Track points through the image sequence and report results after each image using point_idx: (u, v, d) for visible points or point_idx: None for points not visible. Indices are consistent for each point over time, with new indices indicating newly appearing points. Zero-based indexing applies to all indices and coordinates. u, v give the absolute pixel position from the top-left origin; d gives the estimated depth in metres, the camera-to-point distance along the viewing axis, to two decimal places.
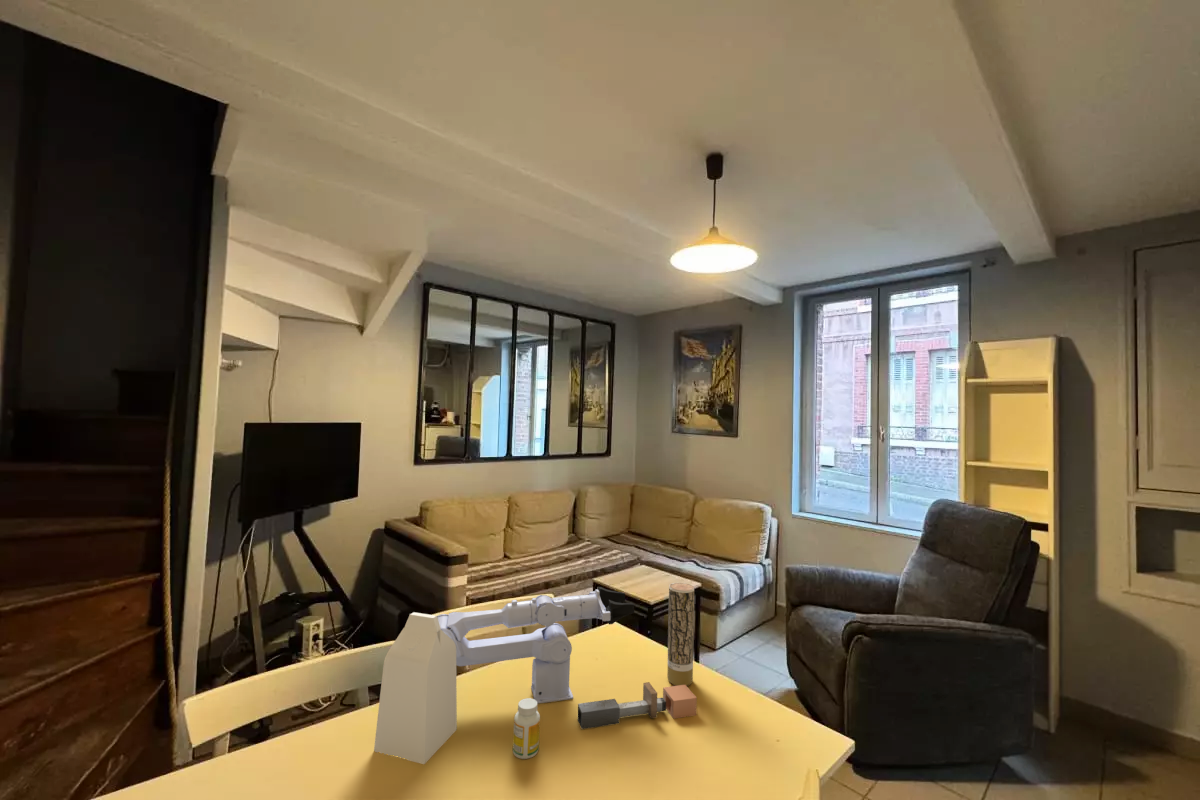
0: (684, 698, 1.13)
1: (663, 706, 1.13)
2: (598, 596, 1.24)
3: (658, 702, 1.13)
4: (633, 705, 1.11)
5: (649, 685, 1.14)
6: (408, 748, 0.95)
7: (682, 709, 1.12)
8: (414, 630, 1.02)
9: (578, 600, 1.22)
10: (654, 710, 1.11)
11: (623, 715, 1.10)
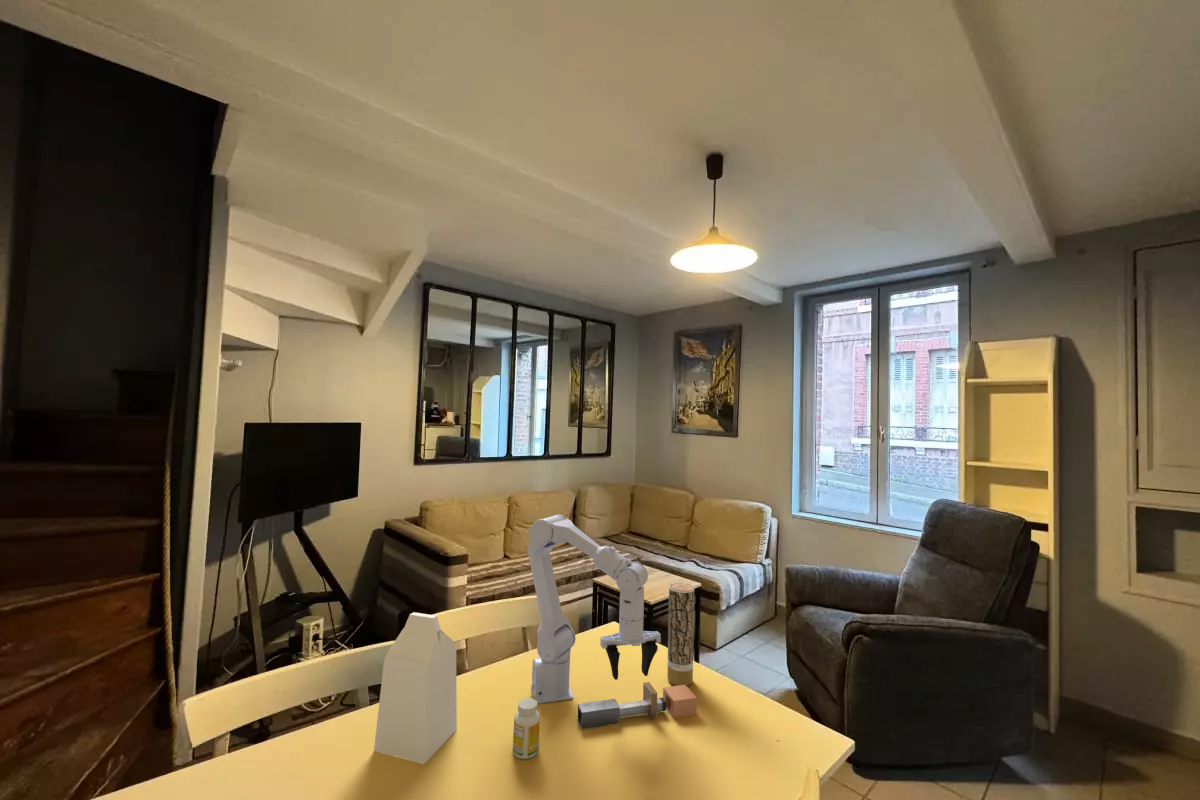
0: (684, 698, 1.13)
1: (663, 706, 1.13)
2: (630, 642, 1.10)
3: (658, 702, 1.13)
4: (633, 705, 1.11)
5: (649, 685, 1.14)
6: (408, 748, 0.95)
7: (682, 709, 1.12)
8: (414, 630, 1.02)
9: (638, 618, 1.11)
10: (654, 710, 1.11)
11: (623, 715, 1.10)
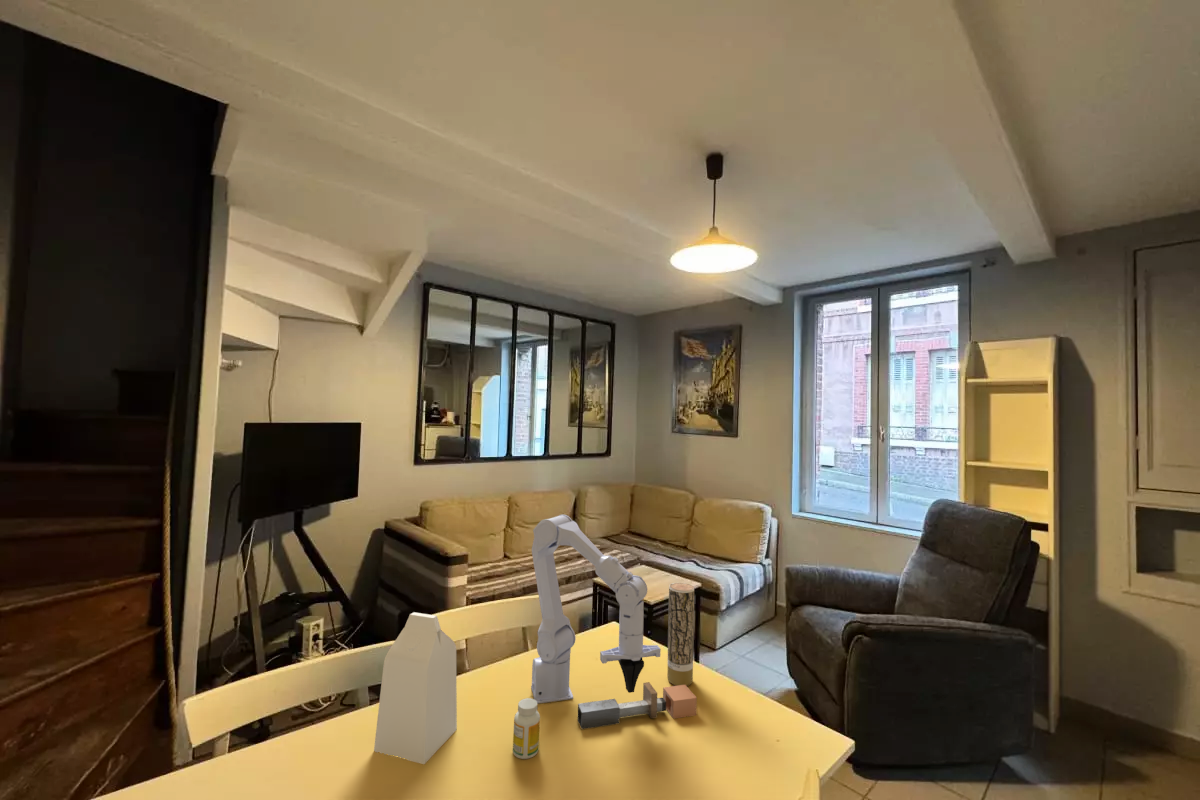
0: (684, 698, 1.13)
1: (663, 706, 1.13)
2: (629, 657, 1.09)
3: (658, 702, 1.13)
4: (633, 705, 1.11)
5: (649, 685, 1.14)
6: (408, 748, 0.95)
7: (682, 709, 1.12)
8: (414, 630, 1.02)
9: (637, 632, 1.10)
10: (654, 710, 1.11)
11: (623, 715, 1.10)
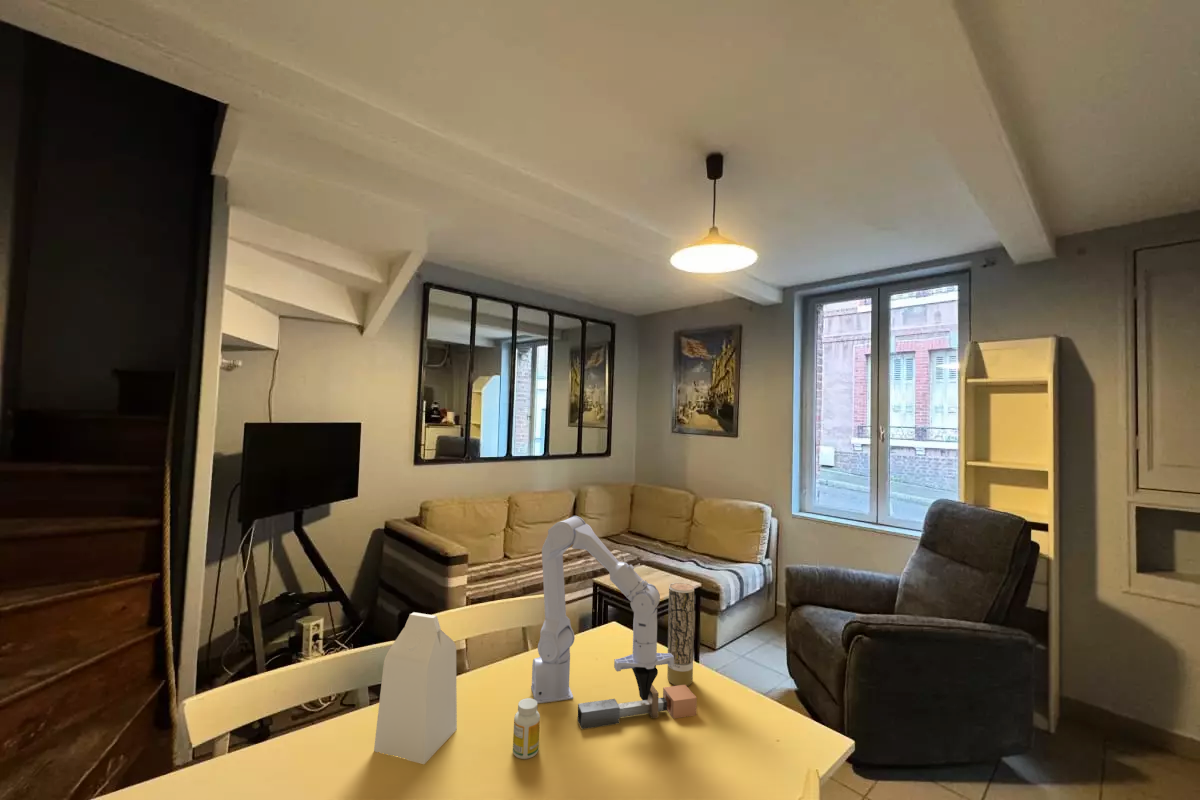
0: (684, 698, 1.13)
1: (665, 705, 1.13)
2: (643, 665, 1.10)
3: (659, 702, 1.13)
4: (634, 705, 1.12)
5: None
6: (408, 748, 0.95)
7: (682, 709, 1.12)
8: (414, 630, 1.02)
9: (652, 640, 1.11)
10: (655, 710, 1.11)
11: (624, 715, 1.10)
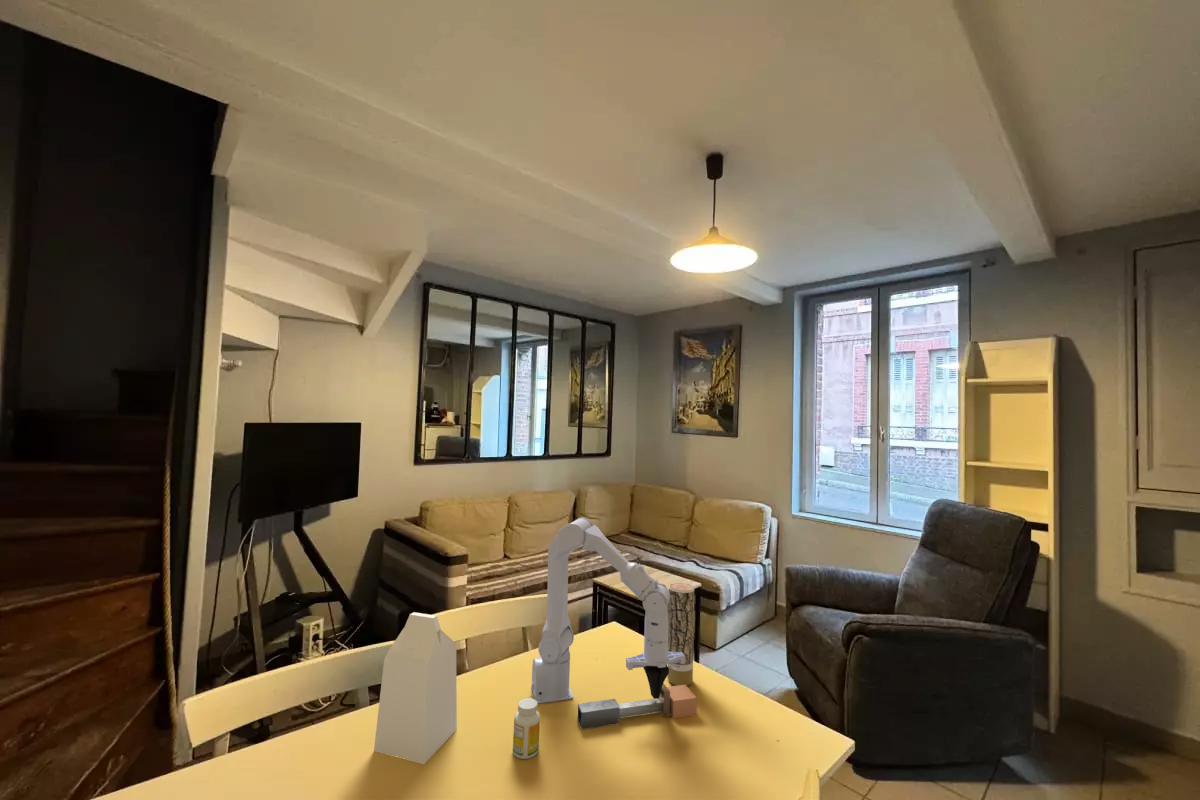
0: (684, 698, 1.13)
1: None
2: (655, 664, 1.11)
3: None
4: (646, 703, 1.12)
5: None
6: (408, 748, 0.95)
7: (682, 709, 1.12)
8: (414, 630, 1.02)
9: (664, 639, 1.12)
10: (667, 708, 1.12)
11: (636, 713, 1.11)
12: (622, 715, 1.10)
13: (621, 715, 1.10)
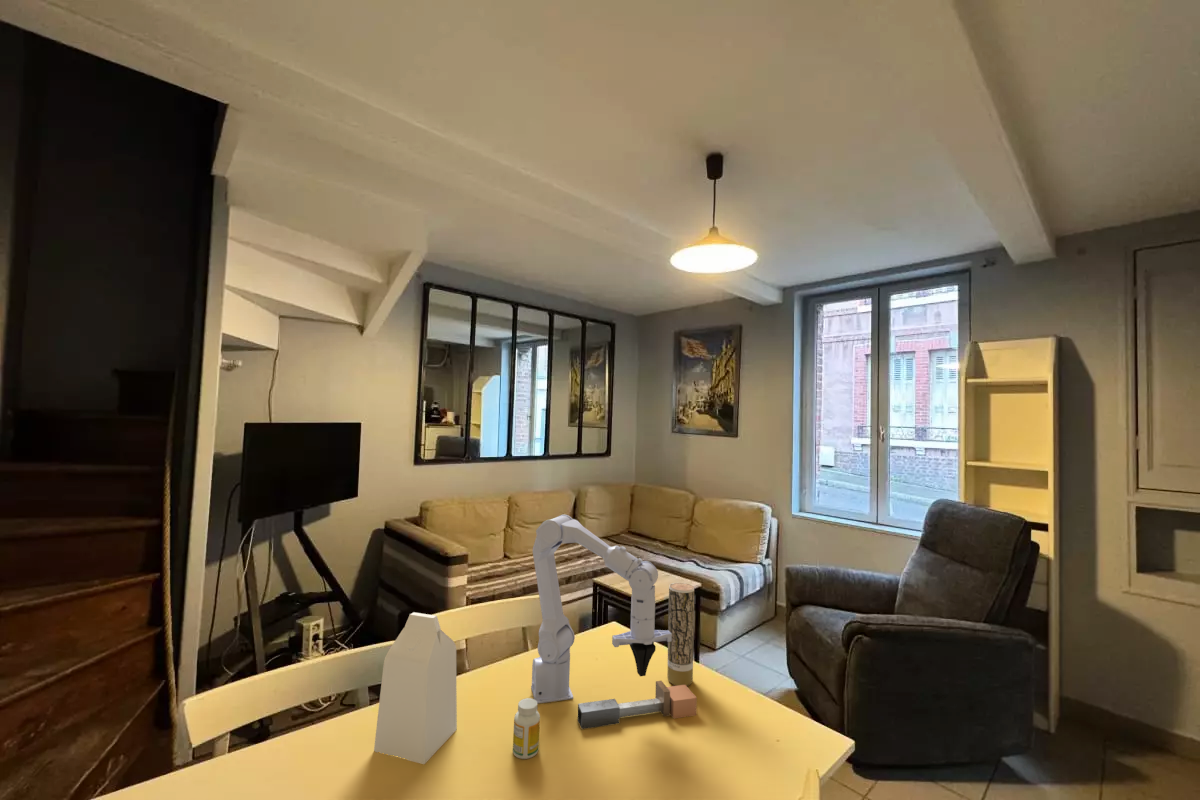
0: (684, 698, 1.13)
1: None
2: (641, 641, 1.11)
3: None
4: (646, 703, 1.12)
5: (661, 683, 1.15)
6: (408, 748, 0.95)
7: (682, 709, 1.12)
8: (414, 630, 1.02)
9: (650, 616, 1.12)
10: (667, 708, 1.12)
11: (636, 713, 1.11)
12: (622, 715, 1.10)
13: (621, 715, 1.10)
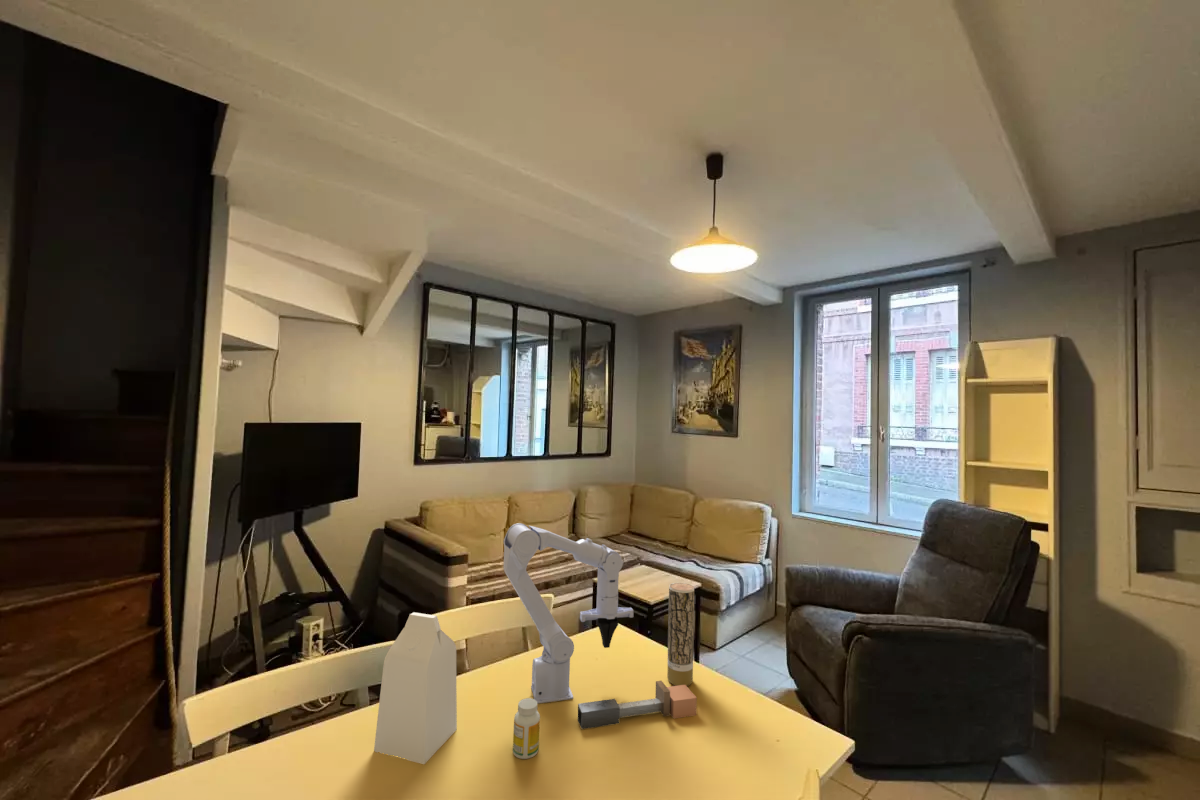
0: (684, 698, 1.13)
1: None
2: (605, 616, 1.25)
3: None
4: (646, 703, 1.12)
5: (661, 683, 1.15)
6: (408, 748, 0.95)
7: (682, 709, 1.12)
8: (414, 630, 1.02)
9: (617, 592, 1.28)
10: (667, 708, 1.12)
11: (636, 713, 1.11)
12: (622, 715, 1.10)
13: (621, 715, 1.10)
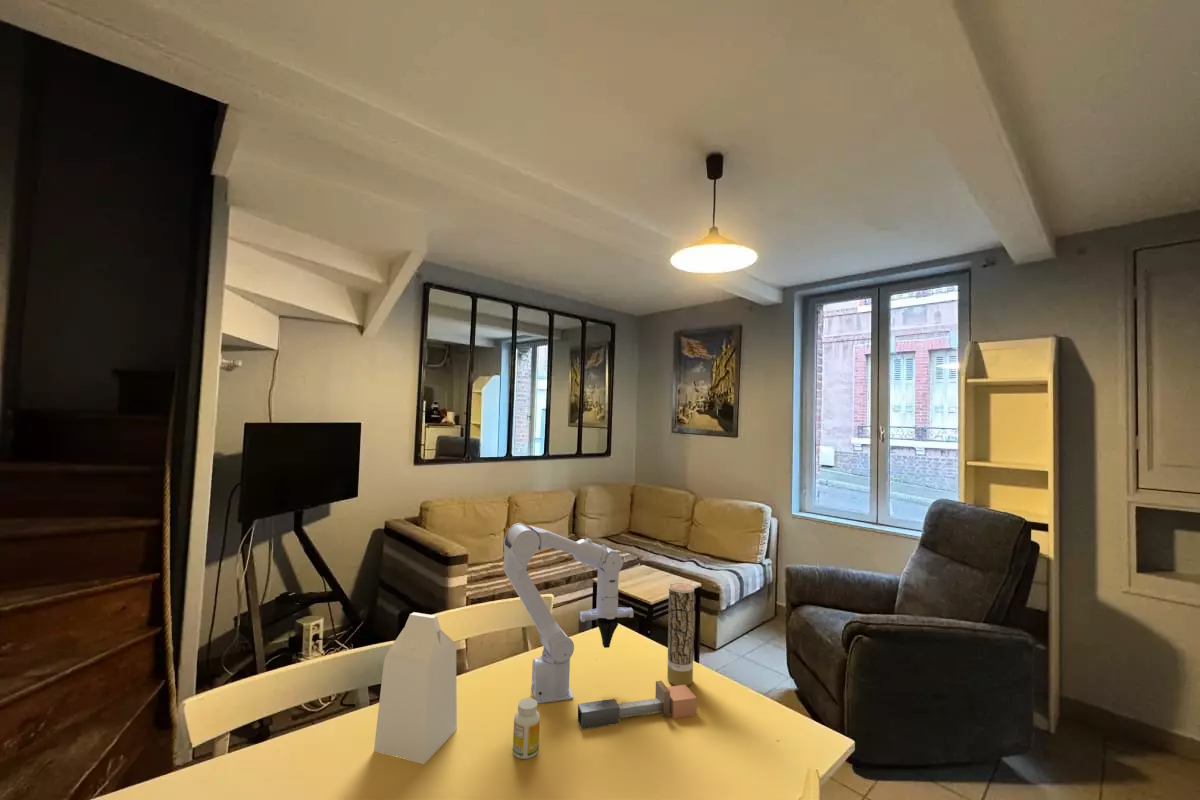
0: (684, 698, 1.13)
1: None
2: (605, 616, 1.25)
3: None
4: (646, 703, 1.12)
5: (661, 683, 1.15)
6: (408, 748, 0.95)
7: (682, 709, 1.12)
8: (414, 630, 1.02)
9: (617, 592, 1.28)
10: (667, 708, 1.12)
11: (636, 713, 1.11)
12: (622, 715, 1.10)
13: (621, 715, 1.10)
